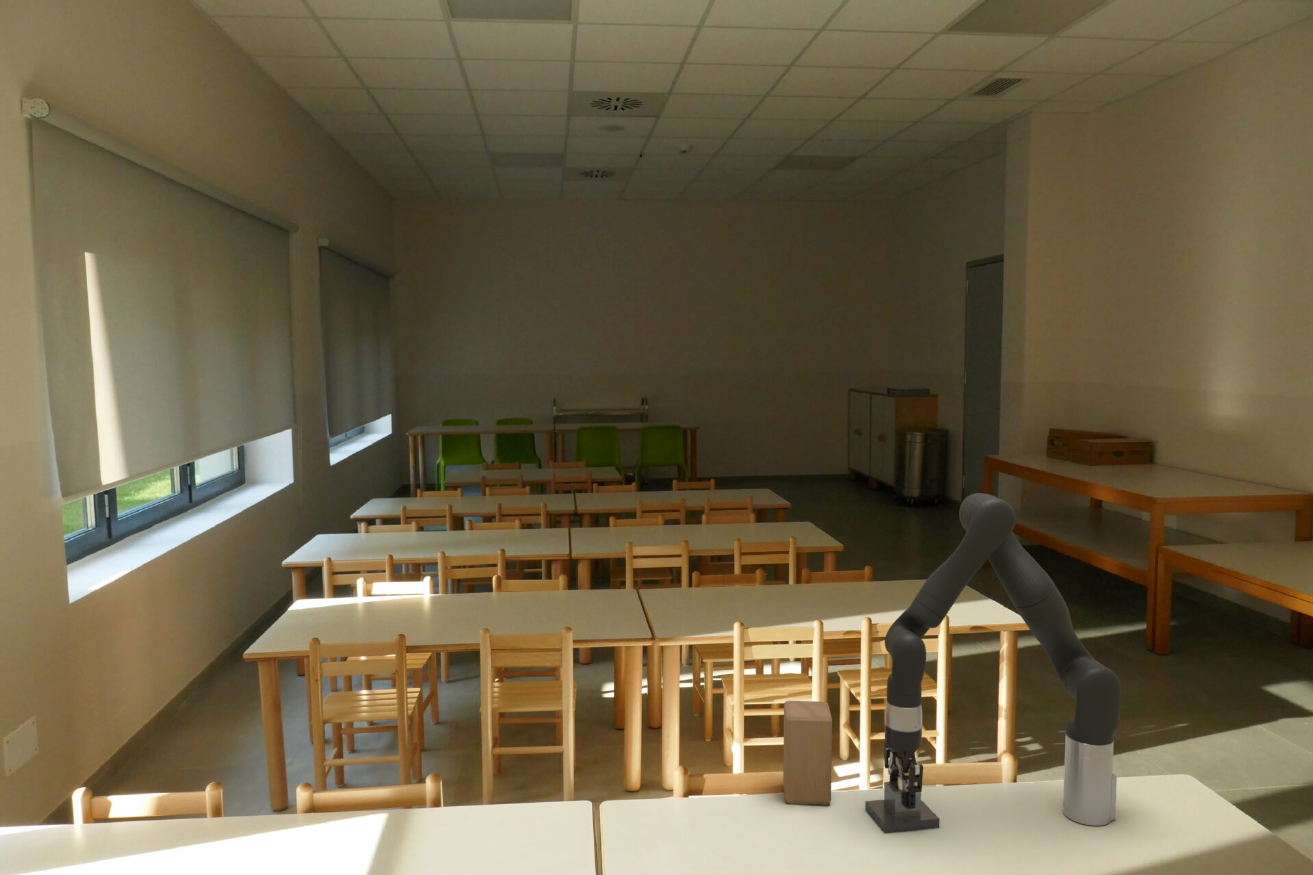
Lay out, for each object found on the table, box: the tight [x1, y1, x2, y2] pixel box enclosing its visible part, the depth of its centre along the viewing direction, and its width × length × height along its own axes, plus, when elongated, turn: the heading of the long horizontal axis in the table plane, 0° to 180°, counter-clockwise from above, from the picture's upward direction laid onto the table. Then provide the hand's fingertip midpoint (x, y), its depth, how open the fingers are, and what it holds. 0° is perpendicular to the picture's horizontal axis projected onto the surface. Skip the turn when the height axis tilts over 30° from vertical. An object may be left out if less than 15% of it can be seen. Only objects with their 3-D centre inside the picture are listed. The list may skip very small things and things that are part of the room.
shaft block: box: [864, 776, 941, 834], centre depth 196 cm, size 12×10×9 cm
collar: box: [883, 779, 922, 817], centre depth 196 cm, size 6×6×5 cm
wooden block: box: [782, 700, 833, 806], centre depth 207 cm, size 10×10×20 cm
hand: (902, 799), depth 197 cm, fingers open, 6 cm apart
